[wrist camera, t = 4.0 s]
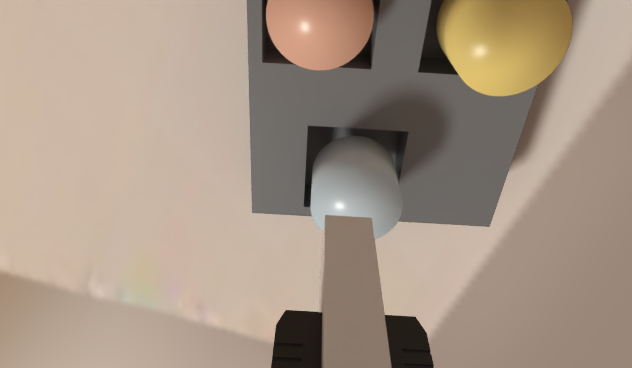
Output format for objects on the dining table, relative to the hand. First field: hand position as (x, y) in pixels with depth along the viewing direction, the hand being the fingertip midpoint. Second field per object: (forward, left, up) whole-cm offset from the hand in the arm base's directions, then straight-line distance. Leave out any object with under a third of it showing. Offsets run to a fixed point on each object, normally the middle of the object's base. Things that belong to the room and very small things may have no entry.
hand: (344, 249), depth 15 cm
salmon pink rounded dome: (-5, -1, -13) cm, 14 cm away
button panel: (-1, +3, -15) cm, 16 cm away
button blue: (+4, +1, -11) cm, 12 cm away
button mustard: (-5, +7, -11) cm, 14 cm away
